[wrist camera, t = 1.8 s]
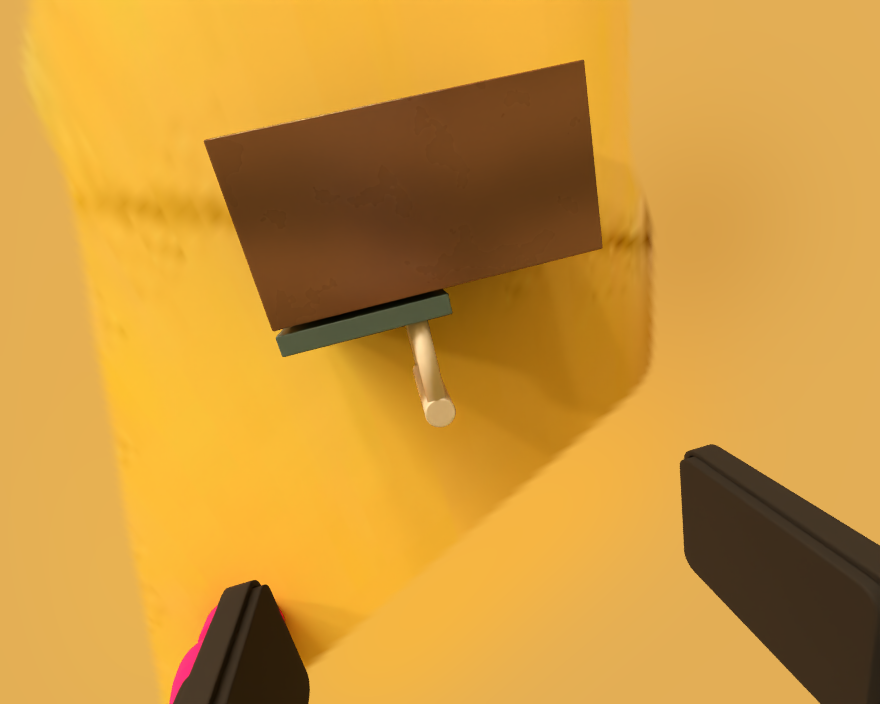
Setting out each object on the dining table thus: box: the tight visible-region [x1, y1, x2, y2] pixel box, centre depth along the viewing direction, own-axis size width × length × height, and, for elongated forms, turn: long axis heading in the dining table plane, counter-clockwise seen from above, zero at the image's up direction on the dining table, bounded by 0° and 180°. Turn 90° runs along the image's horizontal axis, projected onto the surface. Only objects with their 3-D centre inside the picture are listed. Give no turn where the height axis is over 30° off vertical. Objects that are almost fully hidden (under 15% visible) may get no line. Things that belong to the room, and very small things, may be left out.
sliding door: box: [276, 289, 456, 427], centre depth 25 cm, size 7×8×10 cm
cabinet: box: [204, 60, 602, 331], centre depth 23 cm, size 8×16×10 cm, turn 103°
